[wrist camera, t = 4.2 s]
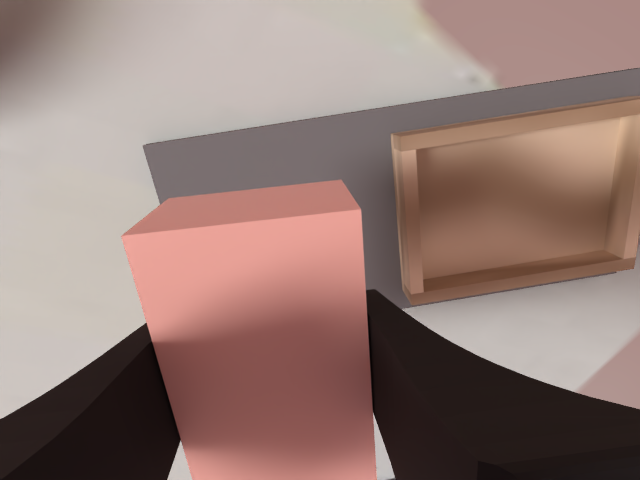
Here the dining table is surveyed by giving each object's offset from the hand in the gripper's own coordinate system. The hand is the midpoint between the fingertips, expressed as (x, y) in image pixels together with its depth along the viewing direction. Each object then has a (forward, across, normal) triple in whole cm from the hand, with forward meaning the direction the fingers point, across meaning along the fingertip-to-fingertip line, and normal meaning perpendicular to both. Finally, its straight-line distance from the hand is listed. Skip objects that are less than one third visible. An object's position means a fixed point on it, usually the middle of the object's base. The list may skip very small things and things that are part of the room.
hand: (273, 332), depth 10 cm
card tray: (+8, -11, -1) cm, 14 cm away
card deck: (+1, 0, 0) cm, 1 cm away
